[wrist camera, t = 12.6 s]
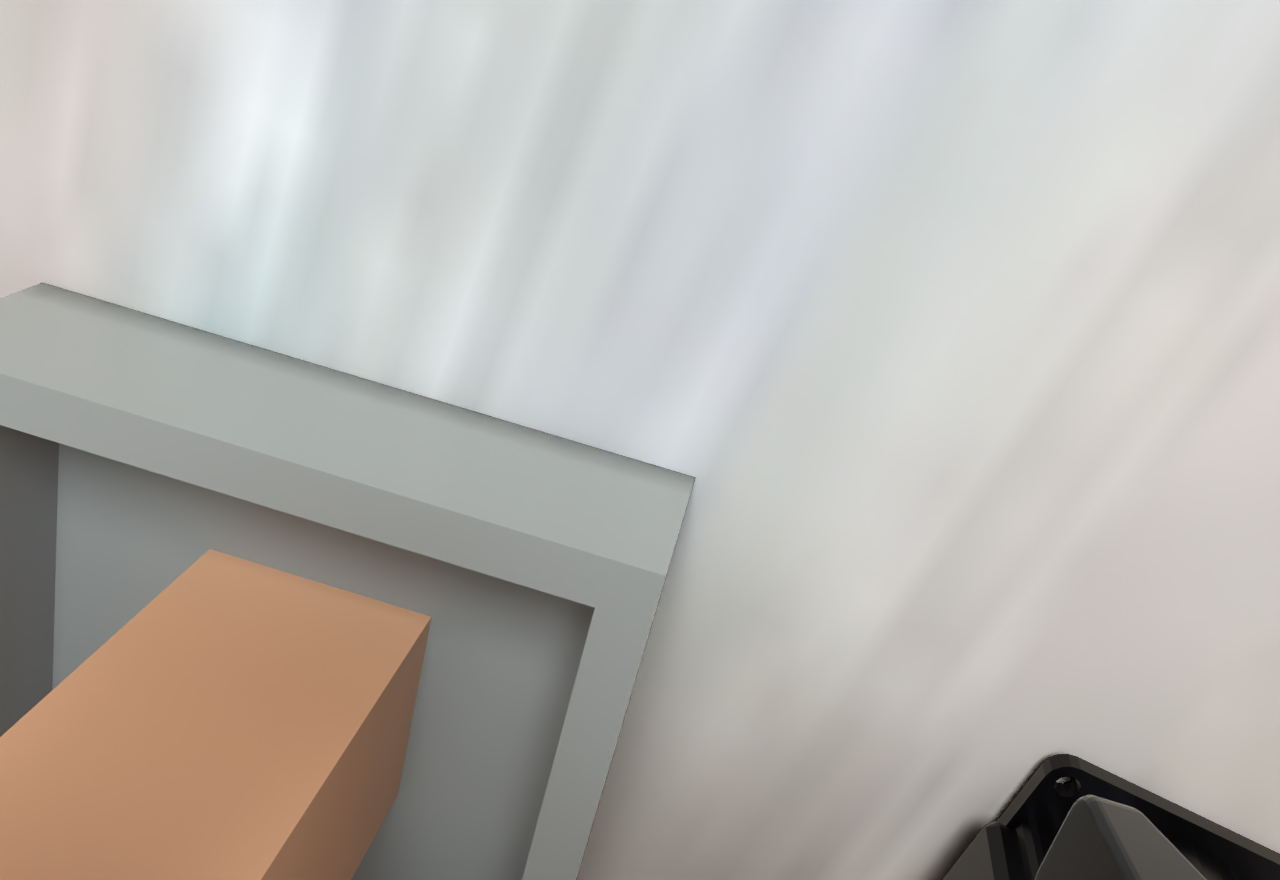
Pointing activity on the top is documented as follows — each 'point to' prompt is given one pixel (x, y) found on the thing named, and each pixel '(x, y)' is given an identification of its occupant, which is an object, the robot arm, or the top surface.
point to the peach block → (218, 736)
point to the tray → (340, 555)
